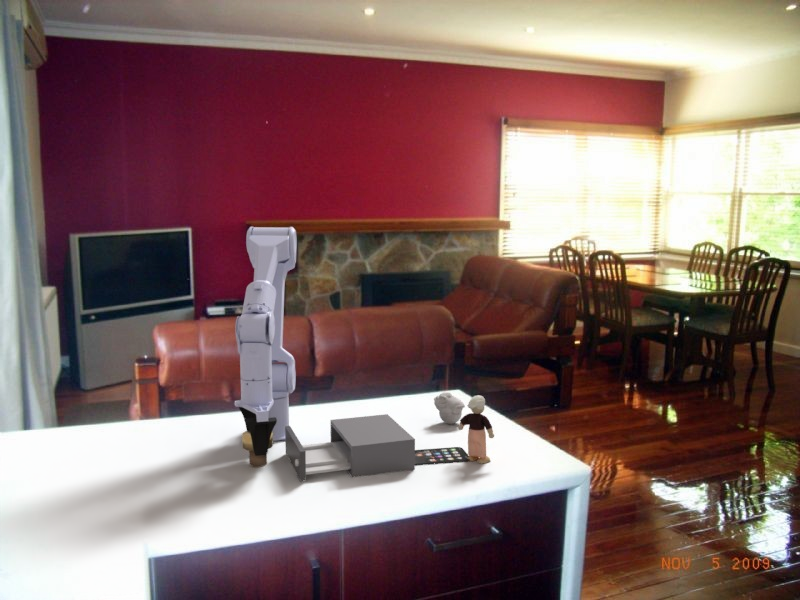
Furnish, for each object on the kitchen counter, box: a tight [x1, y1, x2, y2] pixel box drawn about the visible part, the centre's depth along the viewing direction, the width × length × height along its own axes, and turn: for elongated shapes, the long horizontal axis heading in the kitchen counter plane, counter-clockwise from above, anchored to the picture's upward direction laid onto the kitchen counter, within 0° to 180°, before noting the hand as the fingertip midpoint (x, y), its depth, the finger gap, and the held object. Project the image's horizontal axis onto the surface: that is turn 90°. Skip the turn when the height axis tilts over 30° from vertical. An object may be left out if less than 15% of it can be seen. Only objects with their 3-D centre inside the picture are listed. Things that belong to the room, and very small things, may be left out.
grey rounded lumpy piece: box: [433, 391, 466, 425], centre depth 154 cm, size 6×7×7 cm
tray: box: [284, 425, 351, 482], centre depth 130 cm, size 15×12×5 cm
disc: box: [241, 430, 274, 452], centre depth 129 cm, size 6×6×2 cm
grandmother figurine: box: [457, 394, 495, 464], centre depth 132 cm, size 8×4×13 cm, turn 65°
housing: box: [330, 413, 416, 478], centre depth 133 cm, size 16×12×6 cm
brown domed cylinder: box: [248, 451, 268, 468], centre depth 130 cm, size 3×3×4 cm
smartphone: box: [415, 446, 471, 466], centre depth 134 cm, size 7×1×15 cm
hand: (257, 447), depth 130 cm, fingers open, 7 cm apart
